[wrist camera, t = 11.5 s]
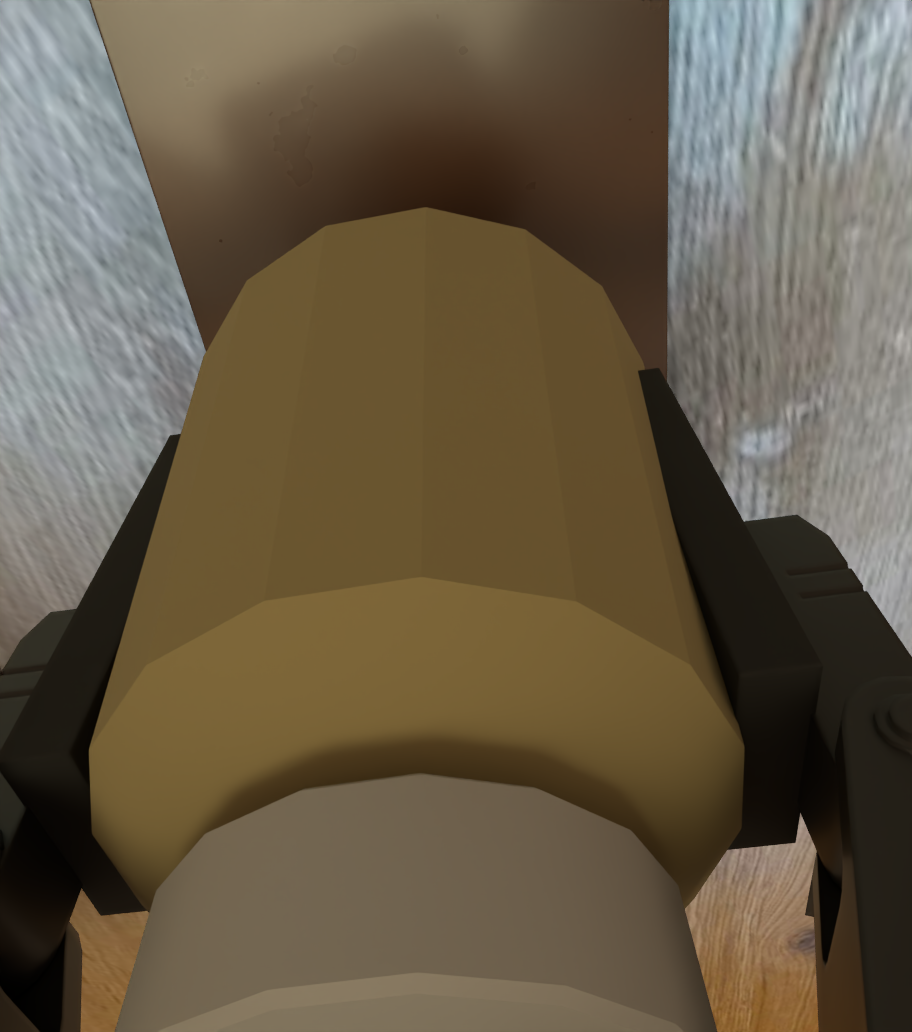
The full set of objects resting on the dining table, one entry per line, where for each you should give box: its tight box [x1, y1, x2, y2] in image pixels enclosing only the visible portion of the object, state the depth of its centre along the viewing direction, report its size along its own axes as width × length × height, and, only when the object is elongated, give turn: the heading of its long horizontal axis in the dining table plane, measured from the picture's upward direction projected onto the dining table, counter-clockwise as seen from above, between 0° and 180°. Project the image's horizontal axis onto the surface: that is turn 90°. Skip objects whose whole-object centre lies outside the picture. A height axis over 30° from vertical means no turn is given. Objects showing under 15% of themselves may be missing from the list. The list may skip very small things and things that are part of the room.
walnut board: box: [89, 0, 669, 381], centre depth 24 cm, size 18×14×1 cm
